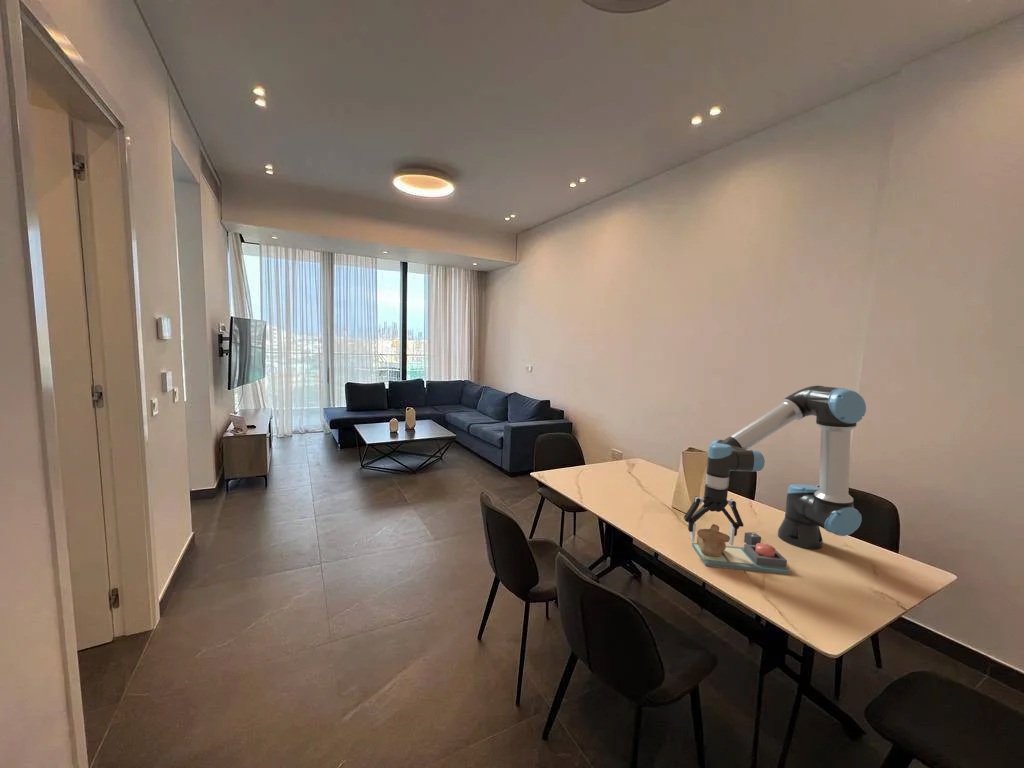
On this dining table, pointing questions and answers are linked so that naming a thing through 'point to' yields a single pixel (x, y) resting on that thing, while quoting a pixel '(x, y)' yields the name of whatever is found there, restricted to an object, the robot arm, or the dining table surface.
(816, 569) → the dining table surface
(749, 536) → the die
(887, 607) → the dining table surface
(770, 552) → the dome button
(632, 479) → the dining table surface
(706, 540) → the figurine
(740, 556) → the board
